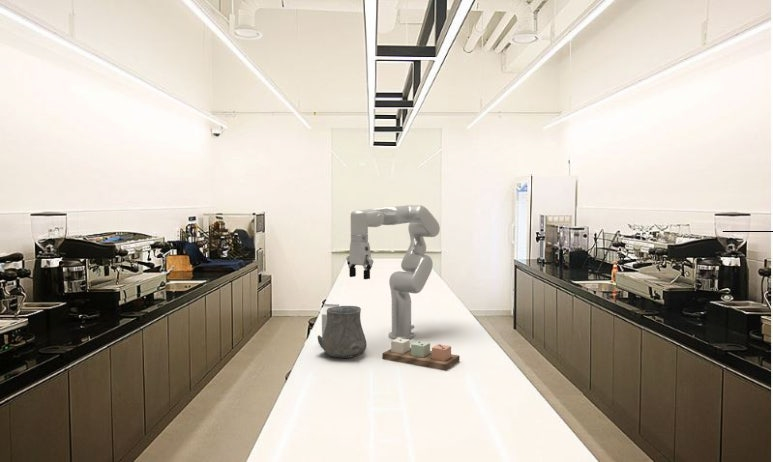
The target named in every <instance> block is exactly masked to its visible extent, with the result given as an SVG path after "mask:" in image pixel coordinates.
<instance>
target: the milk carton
mask: <svg viewBox="0 0 773 462" xmlns="http://www.w3.org/2000/svg"><path fill="white" fill-rule="evenodd" d="M337 306H340V304H338V303H334V304H333V303H324V304H323V309H322V312H321V337H322V336H323V334H324V331H325V327H326V323H327V309H328V308H331V307H337Z"/></svg>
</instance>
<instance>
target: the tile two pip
mask: <svg viewBox="0 0 773 462" xmlns="http://www.w3.org/2000/svg"><path fill="white" fill-rule="evenodd" d="M410 348H411V355H412V356H417V357H423V358H424V357H426V356H427V355H429V354H430V351H431V342H426V341H421V340H416V341H415V342H412V343H410Z"/></svg>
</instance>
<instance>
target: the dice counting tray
mask: <svg viewBox="0 0 773 462" xmlns="http://www.w3.org/2000/svg"><path fill="white" fill-rule="evenodd" d="M381 355H382V357H381V359H382V360H386V361H392V362H395V363H403V364H406V365H407V364H408V365H412V366H413V365H414V366H418V367H423V368H429V369H435V370H439V371H444V372H447V371H449V370H450V369H452V368H453V367H454V366H455V365H457V364H458V363H460V362H461V361H460V355H458V354H452V353H451V358H450V359H448V360H446V361H440V360H435V359H432V350H430V354H429V355H427V356H426V357H424V358H423V357H417V356H412V355H411V347H410V351H408V352H406V353H404V354H400V353H395V352H391V348H390V349H388V350H386V351H384V352H382V354H381Z"/></svg>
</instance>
